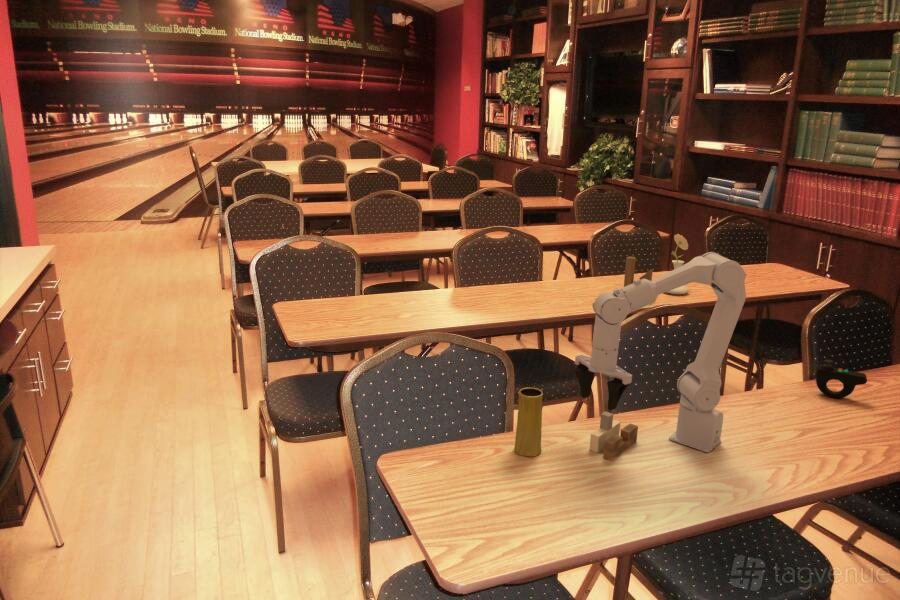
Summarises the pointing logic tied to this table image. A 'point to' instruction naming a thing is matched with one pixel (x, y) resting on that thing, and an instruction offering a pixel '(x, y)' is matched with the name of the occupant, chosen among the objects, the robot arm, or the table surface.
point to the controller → (833, 373)
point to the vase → (529, 422)
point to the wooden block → (630, 272)
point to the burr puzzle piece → (604, 431)
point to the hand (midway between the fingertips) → (598, 402)
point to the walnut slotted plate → (620, 442)
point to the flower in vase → (679, 263)
